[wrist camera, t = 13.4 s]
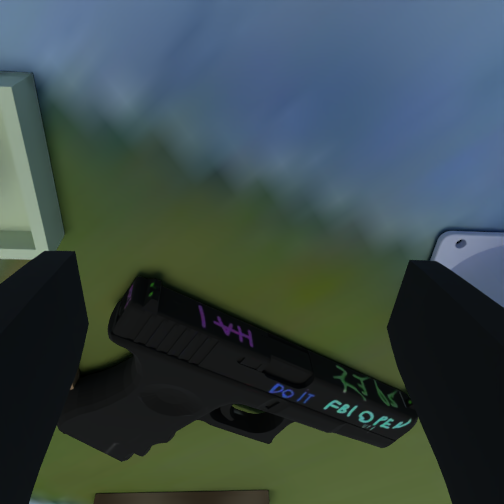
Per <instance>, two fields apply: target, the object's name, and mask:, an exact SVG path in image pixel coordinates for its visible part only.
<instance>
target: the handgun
mask: <svg viewBox="0 0 504 504" xmlns="http://www.w3.org/2000/svg"><path fill="white" fill-rule="evenodd" d="M108 335H109V338H110V340H111V341H113V342H114V343H116V344H117V345H119V346H122V347H124V348H126V349H128V350H129V351H130V352H131V353H132V354H133V356H132V357H131V358H129V359H127V360H126V361H124V362H122V363H120V364H118V365H116V366H114V367H112V368H109V369H107V370H104V371H102V372H98V373H95V374H91V375H87V376H85V377H83V378H80V379H78V381H77V383H76V385H75V387H74V389H72V390H70V391H69V394H68V397H67V399H66V402H65V405H64V407H63V410H62V412H61V415H60V418H59V420H58V423H57V426H58V429H59V430H60V431H61V432H63V433H64V434H67V435H69V436H71V437H73V438H75V439H77V440H79V441H81V442H83V443H85V444H87V445H89V446H91V447H93V448H95V449H97V450H99V451H101V452H103V453H105V454H107V455H109V456H111V457H113V458H115V459H117V460H119V461H121V462H122V461H125V460H128V459H129V458H130V457H131V456H132V455H133V454H134V453H135V454H137V455H139V456H144V455H145V454H146V453H147V452H148V451H149V450H150V448H151V446H153V445H155V444H158V443H167V442H168V441H170V440H171V439H172V438H173V437H174V435H175V433H176V431H178V430H180V429H181V428H183V427H185V426H186V425H188V424H190V423H191V422H193V421H195V420H201V421H205V422H206V423H208V424H210V425H212V426H215V427H218V428H221V429H224V430H227V431H230V432H233V433H236V434H239V435H242V436H245V437H248V438H251V439H254V440H257V441H261V442H264V443H267V444H270V443H271V442H272V440H273V438H274V437H275V436H276V435H277V434H278V433H279V432H280V431H282V430H283V429H284V428H285V427H286V426H287V425H289V424H290V423H293V422H298V423H301V424H304V425H307V426H310V427H313V428H316V429H318V430H321V431H324V432H327V433H331V432H333V433H337V434H340V435H343V436H346V437H349V438H352V439H356V440H359V441H362V442H365V443H368V444H371V445H374V446H377V447H380V448H385V447H387V446H389V445H391V444H392V443H393V442H395V441H396V440H397V439H398V438H400V437H401V436H403V435H404V434H405V433H407V432H408V431H409V430H410V429H411V428H413V426H414V425H415V424H416V422H417V419H418V415H417V413H416V410H415V408H414V406H413V403H412V401H411V399H410V398H409V397H408V396H407V395H406V394H405V393H404V392H402V391H399V390H397V389H395V388H393V387H390V386H388V385H386V384H384V383H381V382H379V381H377V380H375V379H372V378H370V377H368V376H365V375H363V374H361V373H359V372H356V371H354V370H352V369H350V368H347V367H345V366H343V365H340V364H338V363H336V362H334V361H331V360H329V359H327V358H325V357H322V356H320V355H318V354H316V353H313V352H311V351H309V350H306V349H304V348H302V347H300V346H297V345H295V344H293V343H291V342H288V341H286V340H284V339H282V338H279V337H277V336H275V335H272V334H270V333H268V332H266V331H263V330H261V329H259V328H257V327H254V326H252V325H250V324H248V323H245V322H243V321H241V320H238V319H236V318H234V317H232V316H229V315H227V314H225V313H223V312H220V311H218V310H216V309H213V308H211V307H209V306H207V305H204V304H202V303H200V302H198V301H195V300H193V299H191V298H189V297H186V296H184V295H182V294H179V293H177V292H175V291H173V290H170V289H168V288H166V287H164V286H162V285H161V281H160V280H158V279H145V278H143V277H140V276H139V277H137V278H136V279H135V280H134V282H133V283H132V285H131V286H130V288H129V289H128V290H127V292H126V293H125V295H124V297H123V298H122V300H121V301H119V302H118V303H117V305H116V306H115V308H114V310H113V312H112V314H111V317H110V320H109V324H108ZM233 404H243V405H247V406H250V407H253V408H256V409H259V410H262V411H265V413H260V414H251V413H247V412H244V411H241V410H238V409H235V408H234V407H233V406H232V405H233Z"/></svg>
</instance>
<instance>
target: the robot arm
mask: <svg viewBox="0 0 504 504" xmlns="http://www.w3.org/2000/svg"><path fill="white" fill-rule="evenodd" d="M462 239H463V240H462ZM459 240H462V241H461V242H460V243H459V244H456V243H457V241H459ZM88 325H89V323H88V317H87V312H86V307H85V302H84V296H83V291H82V286H81V280H80V275H79V270H78V264H77V259H76V254H75V251H44V252H42V253H41V254H39V255H38V256H36V257H35V258H34V259H32V260H31V261H30V262H28V263H27V264H26V265H24V266H23V267H22V268H20V269H19V270H18V271H17V272H15V273H14V274H13V275H11V276H10V277H9V278H7V279H6V280H5V281H4V282H2V283H1V284H0V504H29V501H30V498H31V494H32V491H33V488H34V485H35V482H36V479H37V476H38V473H39V470H40V467H41V464H42V462H43V459H44V457H45V454H46V451H47V449H48V446H49V444H50V441H51V438H52V436H53V433H54V431H55V428H56V425H57V423H58V420H59V418H60V415H61V412H62V410H63V407H64V405H65V402H66V399H67V397H68V394H69V391H70V389H71V386H72V383H73V381H74V378H75V375H76V373H77V370H78V367H79V363H80V359H81V355H82V351H83V347H84V343H85V338H86V334H87V329H88ZM387 330H388V334H389V338H390V342H391V346H392V350H393V353H394V357H395V360H396V363H397V367H398V370H399V372H400V375H401V377H402V379H403V382H404V384H405V387H406V389H407V391H408V394H409V396H410V399H411V401H412V403H413V406H414V408H415V410H416V413H417V415H418V417H419V420H420V422H421V424H422V427H423V429H424V431H425V434H426V436H427V438H428V440H429V443H430V445H431V447H432V450H433V452H434V454H435V457H436V459H437V461H438V464H439V467H440V469H441V472H442V475H443V477H444V480H445V482H446V485H447V488H448V492H449V495H450V498H451V501H452V504H504V233H500V232H469V231H447V232H445V233H443V234H442V235H441V236H440V237H439V238H438V241H437V243H436V246H435V249H434V251H433V254H432V257H431V259H430V261H423V260H409V263H408V266H407V269H406V272H405V275H404V278H403V281H402V284H401V287H400V290H399V293H398V296H397V299H396V302H395V305H394V308H393V311H392V314H391V317H390V320H389V323H388V326H387Z"/></svg>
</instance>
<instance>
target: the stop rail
mask: <svg viewBox="0 0 504 504" xmlns="http://www.w3.org/2000/svg"><path fill="white" fill-rule="evenodd" d="M94 504H269V493H268V490H255V491H208V492H160V493H113V494H96V495H95V500H94Z"/></svg>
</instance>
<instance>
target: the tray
mask: <svg viewBox="0 0 504 504" xmlns="http://www.w3.org/2000/svg"><path fill="white" fill-rule="evenodd" d="M64 235H65V233H64V228H63V223H62V218H61V213H60V208H59V203H58V198H57V193H56V188H55V183H54V178H53V173H52V168H51V163H50V158H49V153H48V148H47V143H46V138H45V133H44V128H43V123H42V118H41V112H40V107H39V102H38V97H37V92H36V87H35V82H34V77H33V73H24V72H8V71H0V259H34V258H35V257H36V256H38V255H39V254H41V253H42V252H44V251H56V250H57V248H58V246H59V244H60V242H61V240H62V239H63V237H64Z"/></svg>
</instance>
